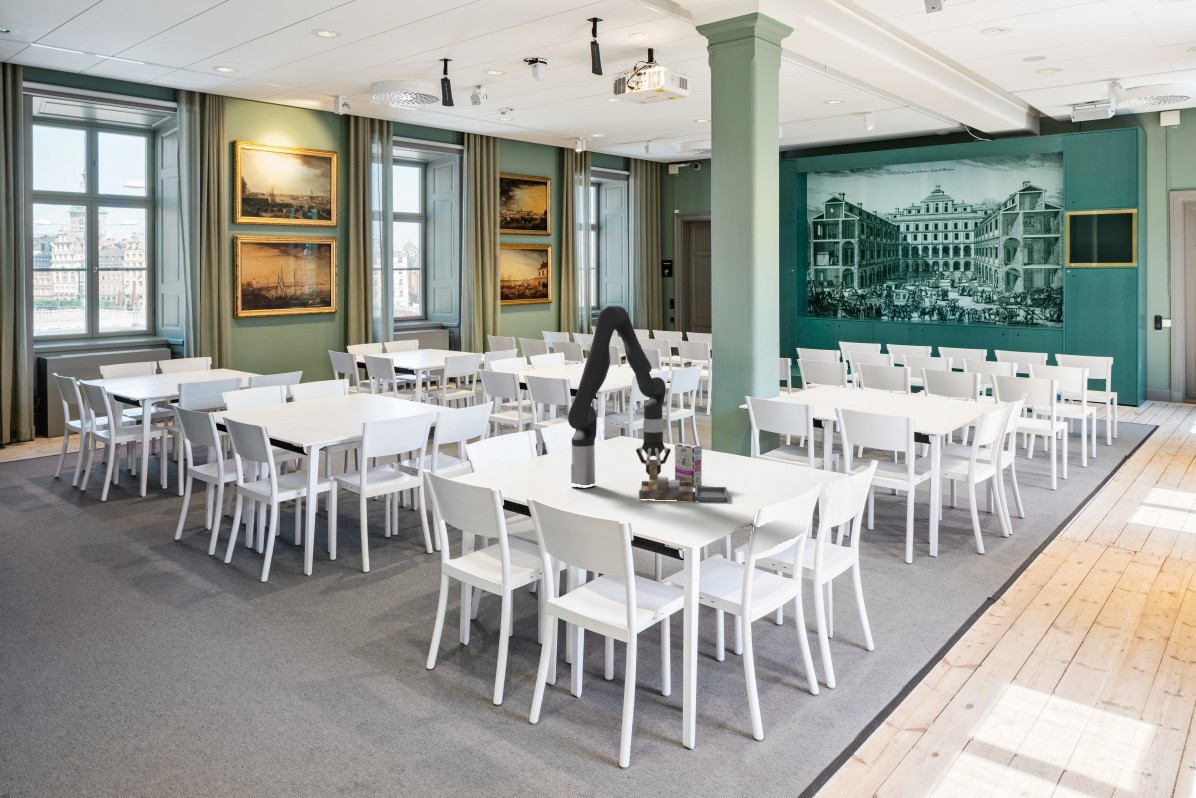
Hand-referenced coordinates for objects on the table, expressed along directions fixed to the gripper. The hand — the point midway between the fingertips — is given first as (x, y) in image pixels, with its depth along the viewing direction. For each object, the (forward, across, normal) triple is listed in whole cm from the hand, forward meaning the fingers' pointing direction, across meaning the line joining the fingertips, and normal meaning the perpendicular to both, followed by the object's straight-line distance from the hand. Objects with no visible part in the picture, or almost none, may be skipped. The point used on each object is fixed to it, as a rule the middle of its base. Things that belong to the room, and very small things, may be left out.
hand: (653, 473), depth 346 cm
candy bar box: (+9, +13, +20) cm, 26 cm away
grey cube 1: (+6, +4, +3) cm, 8 cm away
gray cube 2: (+6, +8, -2) cm, 10 cm away
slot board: (+9, +5, 0) cm, 10 cm away
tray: (+9, +22, 0) cm, 24 cm away
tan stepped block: (+6, 0, 0) cm, 6 cm away
